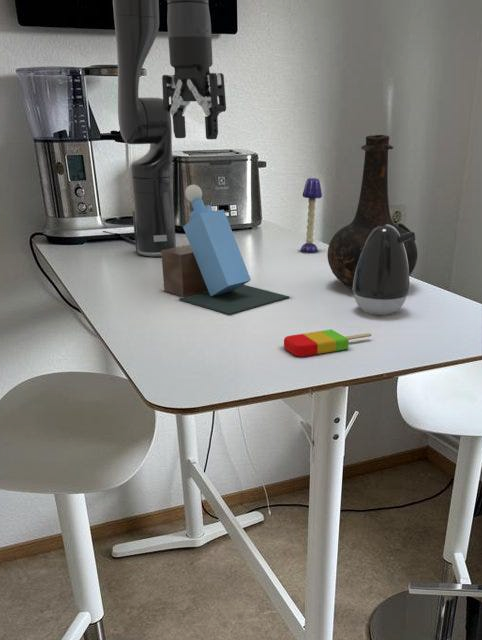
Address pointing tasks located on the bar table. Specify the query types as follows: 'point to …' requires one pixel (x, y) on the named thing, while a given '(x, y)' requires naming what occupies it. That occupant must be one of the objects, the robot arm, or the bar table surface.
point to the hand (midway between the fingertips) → (195, 138)
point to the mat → (235, 299)
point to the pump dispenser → (382, 271)
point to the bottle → (214, 246)
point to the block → (181, 272)
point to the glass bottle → (367, 214)
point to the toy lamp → (311, 212)
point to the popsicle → (318, 342)
